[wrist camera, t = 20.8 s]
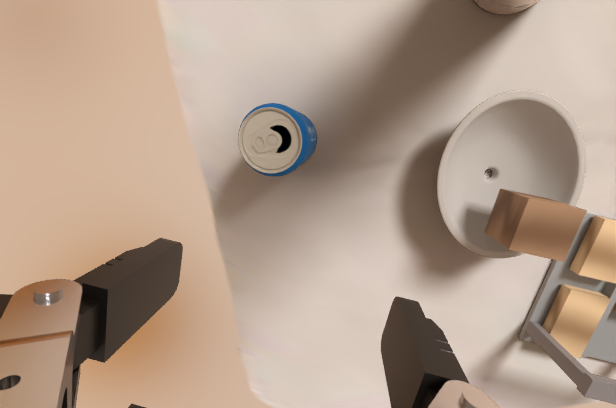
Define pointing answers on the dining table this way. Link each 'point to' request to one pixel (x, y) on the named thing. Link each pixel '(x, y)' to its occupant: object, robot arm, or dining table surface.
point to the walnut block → (534, 224)
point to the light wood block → (597, 251)
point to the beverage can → (276, 139)
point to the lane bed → (604, 341)
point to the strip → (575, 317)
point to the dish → (508, 163)
